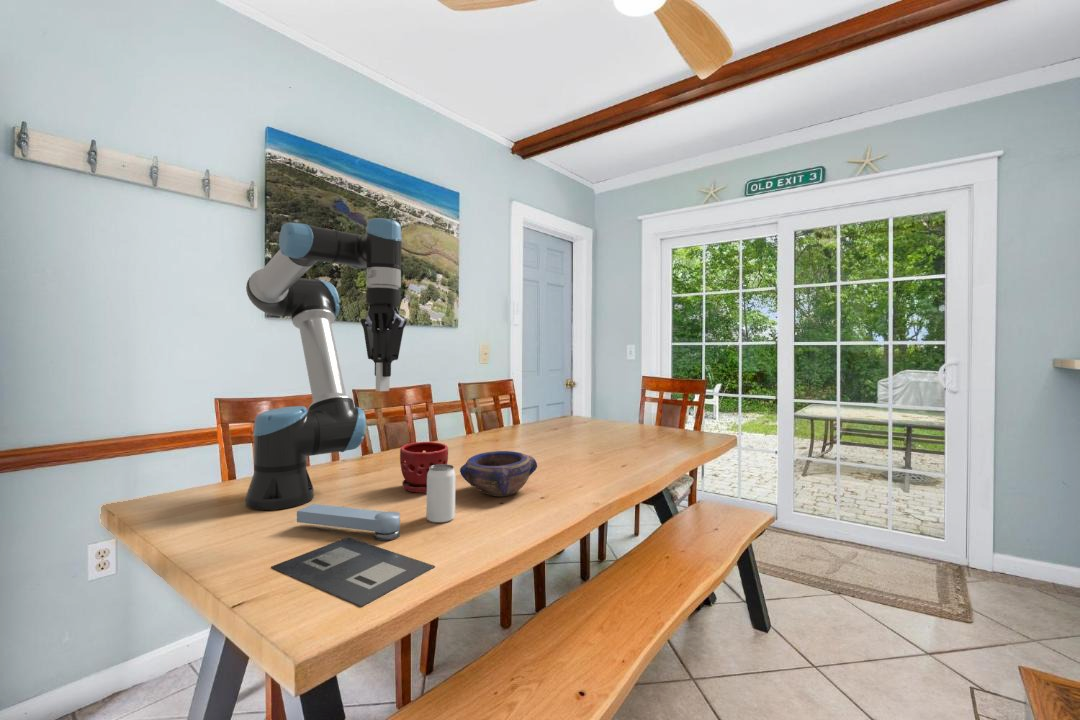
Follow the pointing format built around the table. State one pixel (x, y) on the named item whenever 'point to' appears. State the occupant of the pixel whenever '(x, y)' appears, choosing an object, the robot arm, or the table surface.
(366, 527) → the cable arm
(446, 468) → the can
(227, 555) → the table surface
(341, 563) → the label panel
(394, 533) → the arm pivot
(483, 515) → the table surface
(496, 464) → the bowl
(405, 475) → the plant pot
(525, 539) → the table surface
